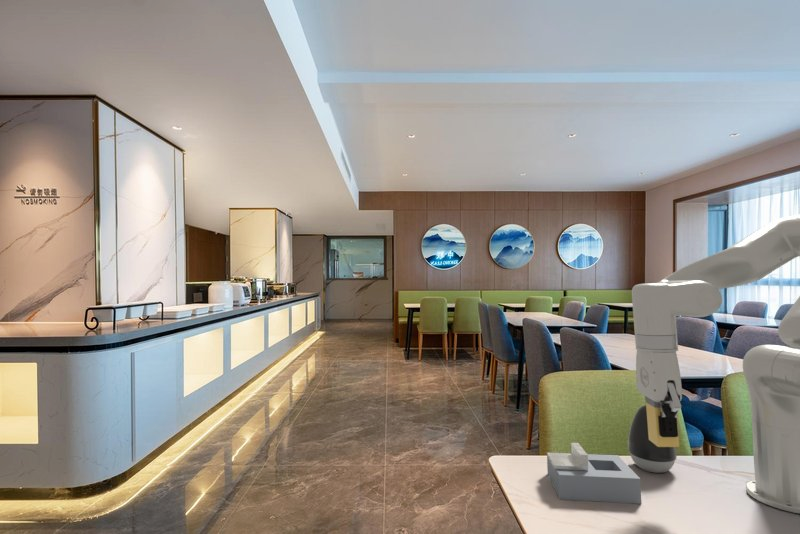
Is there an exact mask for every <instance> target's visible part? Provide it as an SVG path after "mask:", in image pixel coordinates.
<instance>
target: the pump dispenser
mask: <svg viewBox="0 0 800 534" xmlns="http://www.w3.org/2000/svg"><path fill="white" fill-rule="evenodd" d="M676 448H677V447H657V446H656V445H655V444H654V443H652V442H651V441H650V440H649V436H648V423H647V410H646V404H644V405H642V406H640V407H639V408H638V409H637V411H636V413H635V414H634V416H633V418H632V421H631V424H630V428H629V432H628V440H627V450H628V452H629V455H630V457H631V459H632V461H633V462H634V464H635V465H636V466H637V467H638V468H640V469H642V470H643V471H646V472H650V473H655V474H662V473H667V472H668V471H670V470H671V469H672V468H673V466H674V465H675V461H676V460H677V449H676Z"/></svg>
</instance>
